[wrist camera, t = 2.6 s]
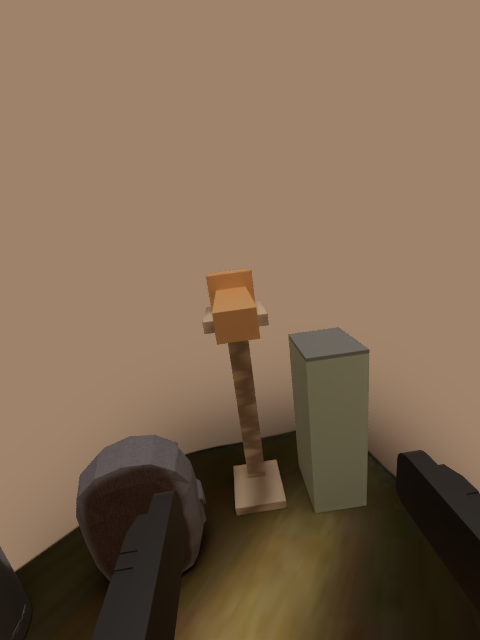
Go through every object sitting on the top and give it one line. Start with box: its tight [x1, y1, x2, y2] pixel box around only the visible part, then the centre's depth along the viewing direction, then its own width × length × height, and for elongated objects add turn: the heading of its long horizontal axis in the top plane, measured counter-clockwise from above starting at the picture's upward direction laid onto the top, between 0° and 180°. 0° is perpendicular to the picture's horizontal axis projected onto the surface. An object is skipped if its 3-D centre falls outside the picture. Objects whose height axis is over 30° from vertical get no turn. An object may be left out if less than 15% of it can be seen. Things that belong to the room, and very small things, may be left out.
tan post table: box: [203, 300, 287, 516], centre depth 40 cm, size 8×8×32 cm
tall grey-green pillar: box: [289, 328, 369, 513], centre depth 40 cm, size 8×9×26 cm
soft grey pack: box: [76, 435, 206, 581], centre depth 34 cm, size 15×8×20 cm, turn 103°
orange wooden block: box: [206, 268, 260, 344], centre depth 31 cm, size 6×16×5 cm, turn 4°
